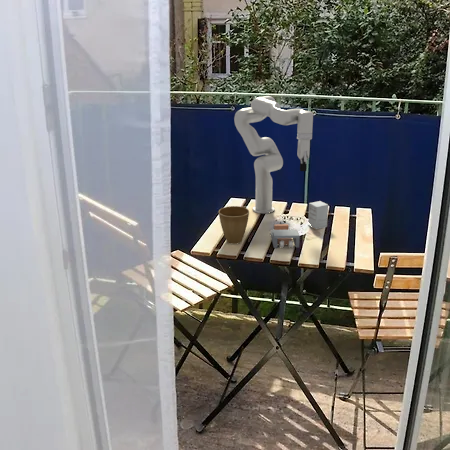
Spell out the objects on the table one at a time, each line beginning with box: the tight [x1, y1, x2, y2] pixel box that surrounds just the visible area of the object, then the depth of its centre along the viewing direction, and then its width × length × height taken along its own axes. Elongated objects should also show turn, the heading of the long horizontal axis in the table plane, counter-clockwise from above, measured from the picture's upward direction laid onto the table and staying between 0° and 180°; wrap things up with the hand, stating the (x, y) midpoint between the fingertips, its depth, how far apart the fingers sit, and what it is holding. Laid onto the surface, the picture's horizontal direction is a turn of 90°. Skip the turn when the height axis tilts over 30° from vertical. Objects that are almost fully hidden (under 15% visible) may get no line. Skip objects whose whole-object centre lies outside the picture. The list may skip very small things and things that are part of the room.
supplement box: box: [307, 200, 329, 230], centre depth 295 cm, size 7×7×13 cm
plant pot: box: [218, 205, 250, 245], centre depth 276 cm, size 15×15×16 cm
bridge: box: [269, 228, 300, 249], centre depth 278 cm, size 18×12×6 cm
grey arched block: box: [273, 223, 293, 246], centre depth 279 cm, size 12×7×6 cm, turn 5°
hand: (303, 170), depth 291 cm, fingers closed
